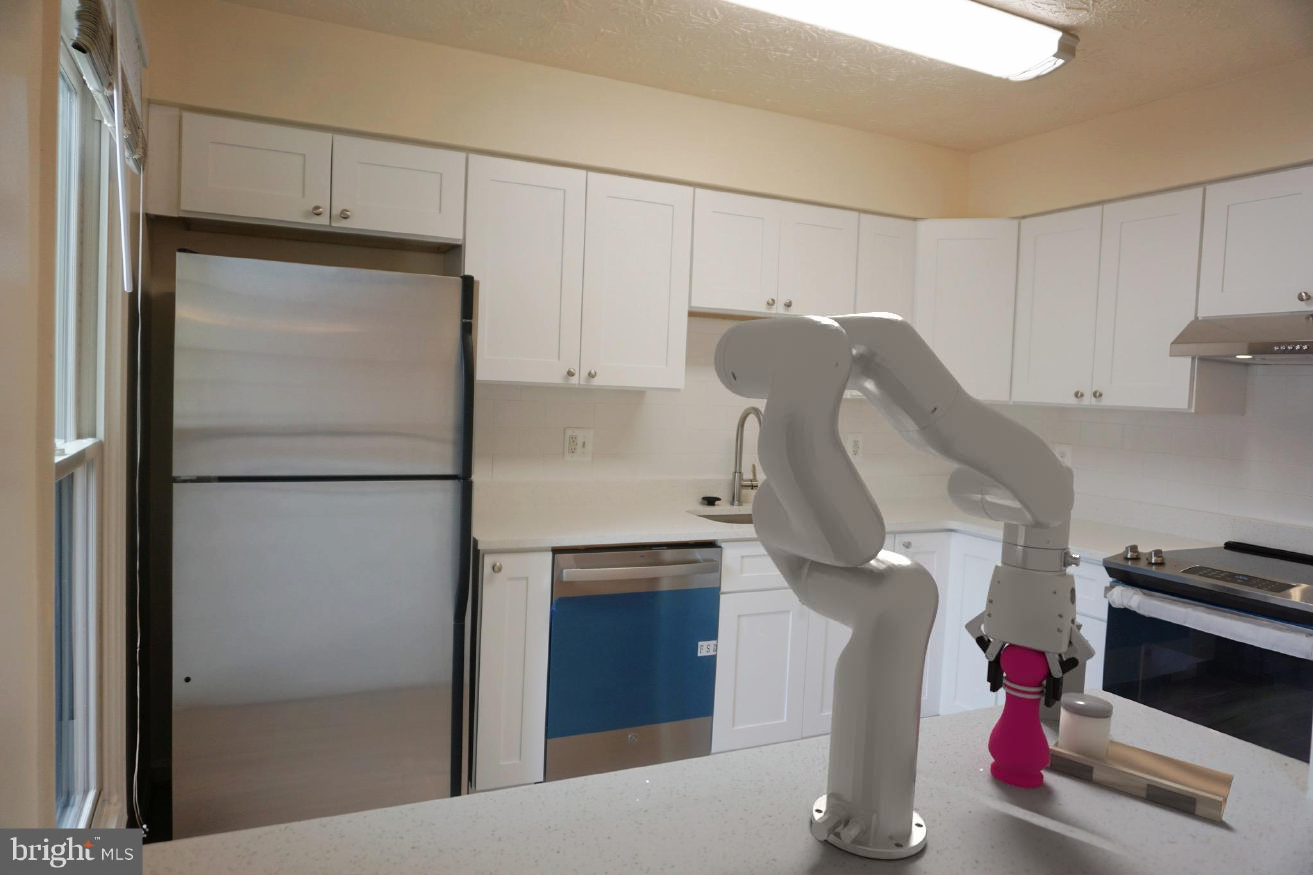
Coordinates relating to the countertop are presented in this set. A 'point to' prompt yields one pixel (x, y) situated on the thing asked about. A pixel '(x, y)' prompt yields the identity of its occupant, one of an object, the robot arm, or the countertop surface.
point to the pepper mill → (1021, 720)
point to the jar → (1085, 725)
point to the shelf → (1151, 777)
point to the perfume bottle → (1066, 684)
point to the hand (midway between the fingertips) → (1022, 695)
